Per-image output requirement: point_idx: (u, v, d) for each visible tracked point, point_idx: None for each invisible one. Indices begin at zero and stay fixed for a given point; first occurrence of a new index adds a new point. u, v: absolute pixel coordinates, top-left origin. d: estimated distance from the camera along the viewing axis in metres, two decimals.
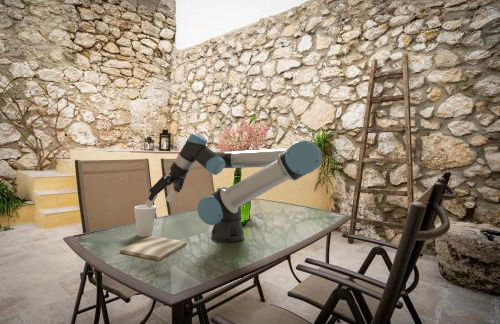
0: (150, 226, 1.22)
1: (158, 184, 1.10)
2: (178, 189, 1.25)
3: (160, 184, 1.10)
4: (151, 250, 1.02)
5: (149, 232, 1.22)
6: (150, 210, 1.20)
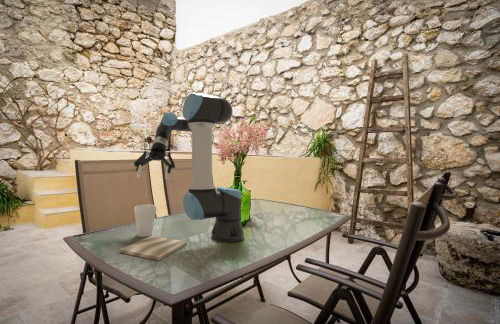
0: (150, 226, 1.22)
1: None
2: None
3: None
4: (151, 250, 1.02)
5: (149, 232, 1.22)
6: (150, 210, 1.20)
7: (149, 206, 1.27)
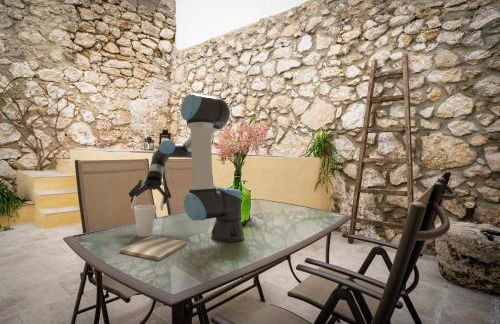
0: (150, 226, 1.22)
1: None
2: (165, 194, 1.34)
3: None
4: (151, 250, 1.02)
5: (149, 232, 1.22)
6: (150, 210, 1.20)
7: (149, 206, 1.27)
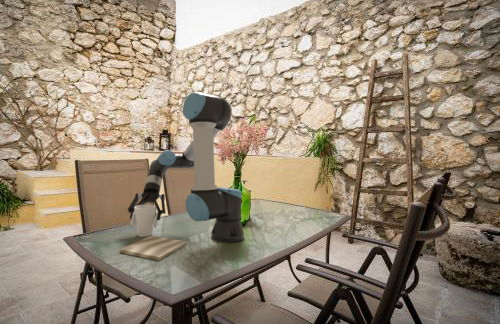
0: (150, 226, 1.22)
1: None
2: (159, 209, 1.26)
3: None
4: (151, 250, 1.02)
5: (149, 232, 1.22)
6: (150, 210, 1.20)
7: (149, 206, 1.27)
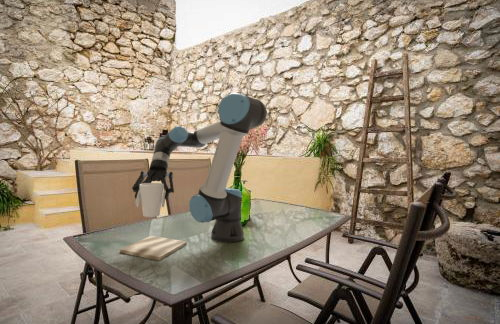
0: (157, 205, 1.09)
1: None
2: (167, 187, 1.13)
3: None
4: (151, 250, 1.02)
5: (156, 212, 1.09)
6: (157, 187, 1.07)
7: (156, 184, 1.15)
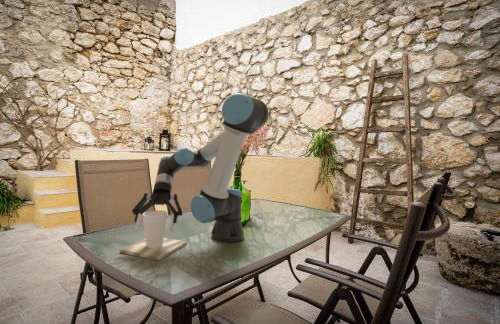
0: (161, 236, 1.06)
1: None
2: (175, 211, 1.10)
3: None
4: (151, 250, 1.02)
5: (160, 242, 1.06)
6: (161, 217, 1.04)
7: (159, 212, 1.11)
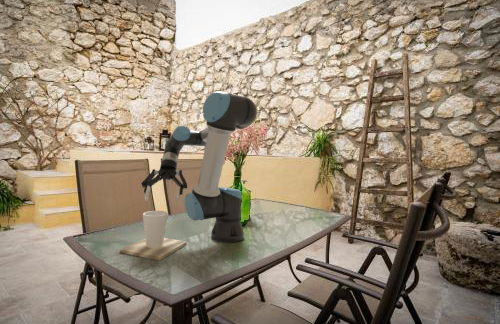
0: (161, 236, 1.06)
1: None
2: (181, 184, 1.23)
3: None
4: (151, 250, 1.02)
5: (160, 243, 1.06)
6: (161, 217, 1.04)
7: (159, 212, 1.11)
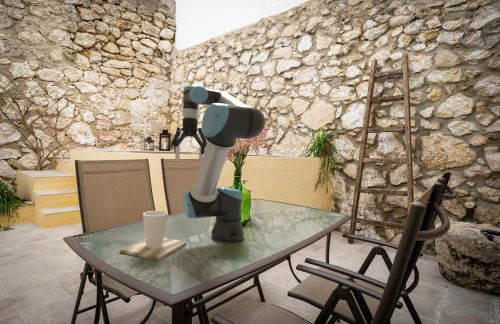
0: (161, 236, 1.06)
1: None
2: (201, 145, 1.32)
3: None
4: (151, 250, 1.02)
5: (160, 243, 1.06)
6: (161, 217, 1.04)
7: (159, 212, 1.11)
